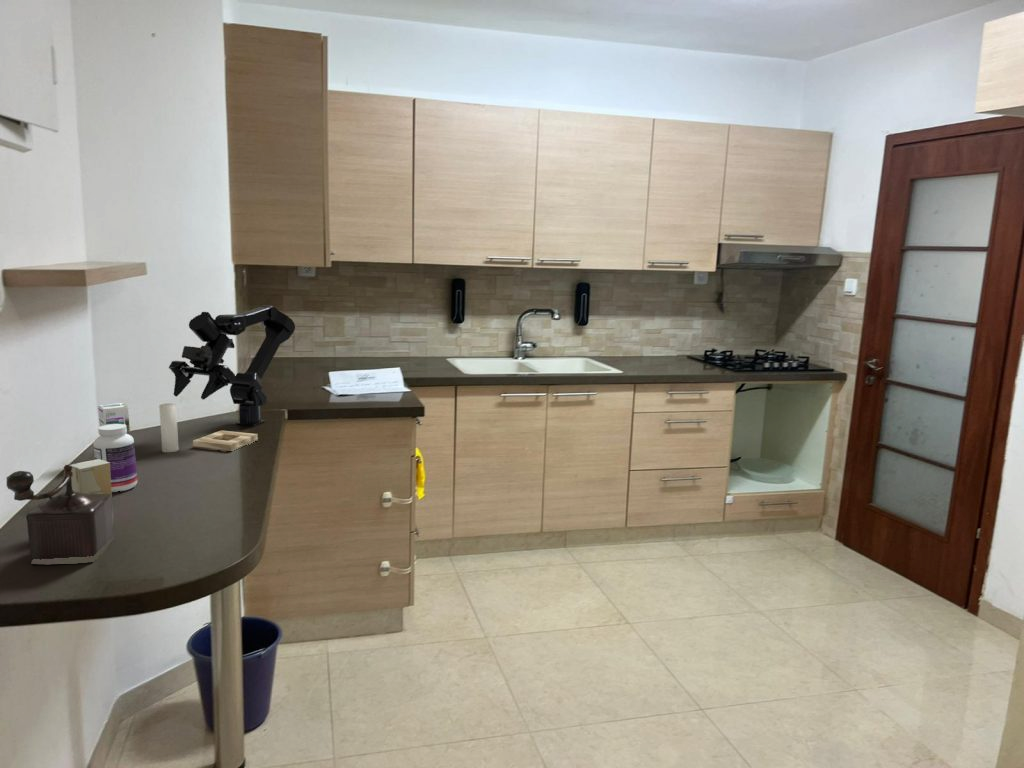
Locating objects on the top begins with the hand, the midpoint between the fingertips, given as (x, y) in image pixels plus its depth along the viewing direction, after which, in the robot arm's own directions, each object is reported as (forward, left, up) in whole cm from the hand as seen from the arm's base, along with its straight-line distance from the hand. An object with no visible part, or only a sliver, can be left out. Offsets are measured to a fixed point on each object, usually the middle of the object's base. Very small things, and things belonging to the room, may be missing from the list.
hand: (188, 397), depth 198 cm
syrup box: (+20, -6, -13) cm, 25 cm away
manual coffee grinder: (+70, +30, -13) cm, 77 cm away
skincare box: (+55, +21, -13) cm, 60 cm away
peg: (+8, 0, -13) cm, 15 cm away
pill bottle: (+37, +10, -13) cm, 40 cm away
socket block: (-2, +10, -13) cm, 16 cm away
